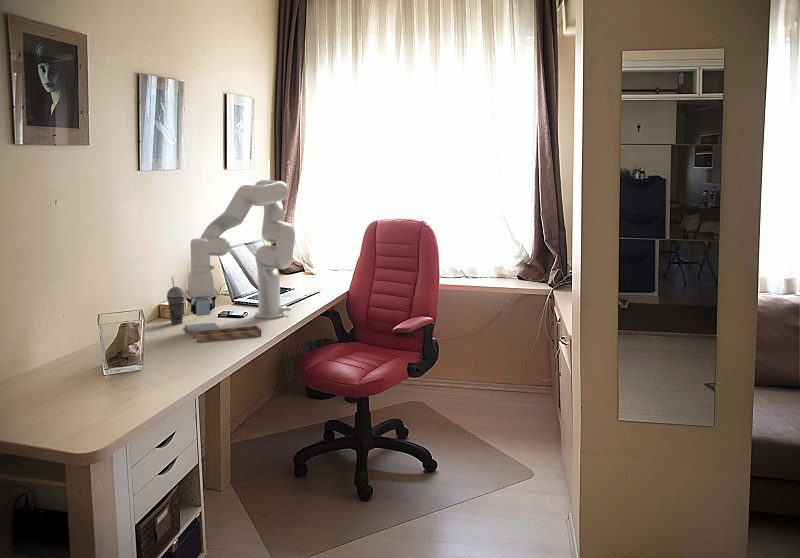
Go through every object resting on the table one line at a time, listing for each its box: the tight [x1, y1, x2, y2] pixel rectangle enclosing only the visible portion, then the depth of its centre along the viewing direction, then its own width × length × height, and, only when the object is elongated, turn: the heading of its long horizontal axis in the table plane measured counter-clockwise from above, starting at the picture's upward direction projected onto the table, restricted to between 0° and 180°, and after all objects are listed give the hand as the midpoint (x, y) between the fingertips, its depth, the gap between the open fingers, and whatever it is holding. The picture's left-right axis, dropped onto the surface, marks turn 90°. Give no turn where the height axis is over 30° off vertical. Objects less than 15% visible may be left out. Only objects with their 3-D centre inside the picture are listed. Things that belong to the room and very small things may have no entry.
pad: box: [184, 322, 221, 335], centre depth 295 cm, size 12×12×1 cm
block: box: [194, 297, 211, 317], centre depth 293 cm, size 5×5×6 cm
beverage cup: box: [166, 276, 185, 326], centre depth 303 cm, size 7×7×20 cm
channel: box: [192, 324, 262, 343], centre depth 284 cm, size 25×8×3 cm, turn 115°
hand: (201, 312), depth 293 cm, fingers closed on block, 5 cm apart
